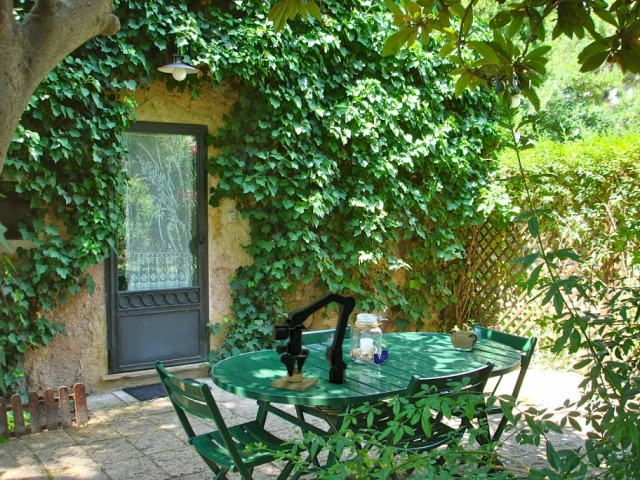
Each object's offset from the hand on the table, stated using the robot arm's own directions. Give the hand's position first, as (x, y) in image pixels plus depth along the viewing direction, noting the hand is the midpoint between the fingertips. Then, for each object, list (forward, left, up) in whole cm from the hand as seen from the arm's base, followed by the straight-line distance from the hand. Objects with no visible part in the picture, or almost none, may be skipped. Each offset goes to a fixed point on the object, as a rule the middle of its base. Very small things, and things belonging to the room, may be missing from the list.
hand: (294, 374), depth 280 cm
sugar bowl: (-54, -114, -5) cm, 126 cm away
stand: (0, 0, -4) cm, 4 cm away
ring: (0, 0, -2) cm, 2 cm away
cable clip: (-22, -59, -5) cm, 63 cm away
